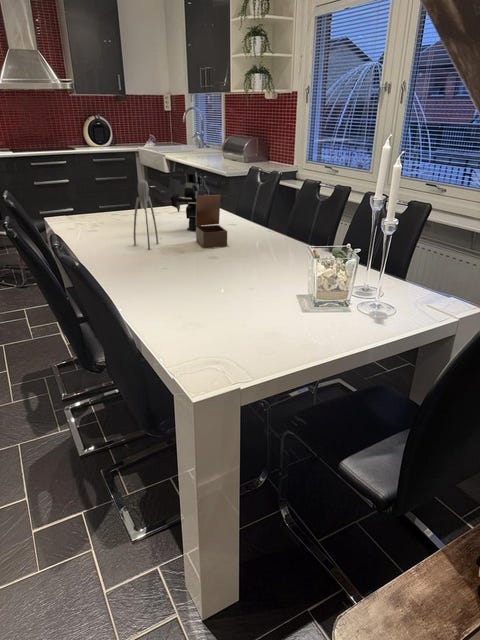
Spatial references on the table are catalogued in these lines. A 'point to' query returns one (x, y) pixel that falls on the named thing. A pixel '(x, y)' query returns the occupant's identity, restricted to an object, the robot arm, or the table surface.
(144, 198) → the grey three-legged stand fixture
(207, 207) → the door
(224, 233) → the walnut box
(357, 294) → the table surface
